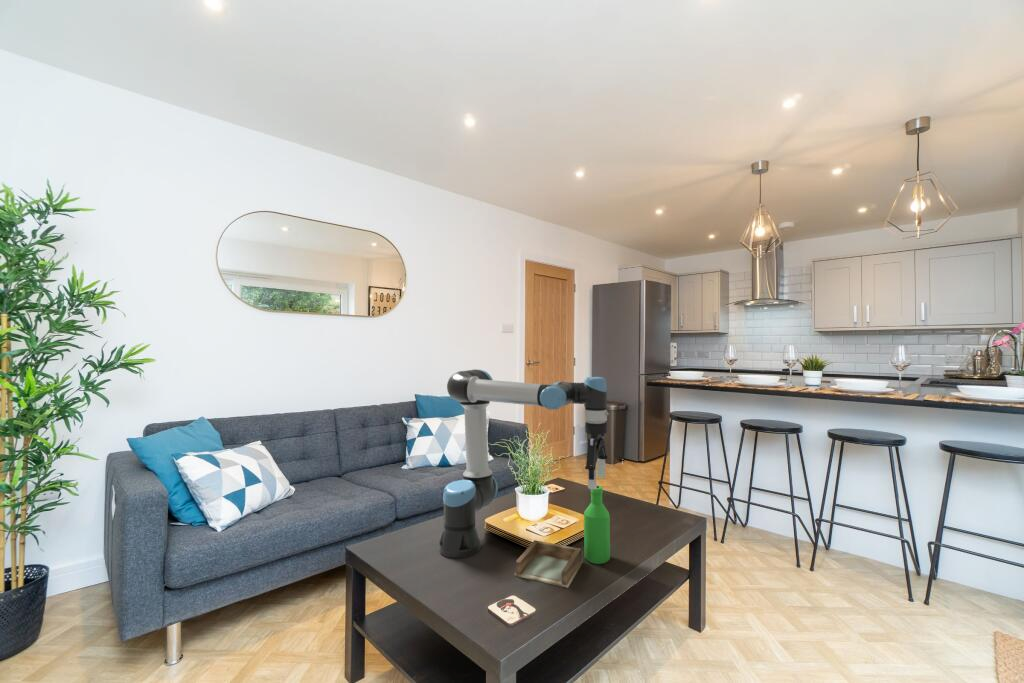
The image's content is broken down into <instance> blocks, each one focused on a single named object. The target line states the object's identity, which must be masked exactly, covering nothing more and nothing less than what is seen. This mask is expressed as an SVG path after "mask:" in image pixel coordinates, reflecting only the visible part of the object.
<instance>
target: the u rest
mask: <svg viewBox="0 0 1024 683" xmlns="http://www.w3.org/2000/svg"><path fill="white" fill-rule="evenodd" d="M583 562H584V561H583V560H582V549H581V548H578V547H573V546H567V545H562V544H557V543H552V542H546V541H541V540H536V539H534V540H533V541H532V542H531V544H529V546H528V547H527V548H526V549H525V550H524V551H523V553H522V554H520V556H519V557H518V558H517V559H516V561H515V573H514V574H513V576H515V577H519V578H523V579H528V580H532V581H537V582H540V583H545V584H550V585H554V586H558V587H562V588H567V589H568V588H569V587H570V585H571V584H572V582H573V580H574V578H575V576H576V575H577V573H578V571H579V570H580V568H581V566H582V564H583Z"/></svg>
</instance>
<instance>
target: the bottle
mask: <svg viewBox="0 0 1024 683" xmlns="http://www.w3.org/2000/svg"><path fill="white" fill-rule="evenodd" d="M589 491H590V503H589V505H588V506H587V507H586V509H585V510H584V512H583V529H584V530H583V531H584V532H583V536H584V537H583V539H584V540H583V541H584V542H583V543H584V547H583V551H584V559H586V561H588V562H589V563H592V564H596V565H602V564H606V563H607V562H608V561H610V559H611V535H610V534H611V530H610V528H611V526H610V525H611V524H610V522H611V520H610V518H611V517H610V512H609V511H608V509H607V508H606V506H605V505H604V503H603V493H604V491H603V487H602V486H600V485H597V489H596V490H595V489H589Z"/></svg>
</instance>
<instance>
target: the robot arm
mask: <svg viewBox="0 0 1024 683" xmlns="http://www.w3.org/2000/svg"><path fill="white" fill-rule="evenodd" d="M446 390H447V393H448V395H449V396H450V398H451V399H452V400H454V401H456V402H458V403H459V402H460V403H459V404H460V406H461V407H462V408H463V409H464V410H463V412H464V413H463V414H464V431H465V432H464V435H465V439H464V440H465V460H466V463H465V464H466V466H465V467H466V469H465V470H464V472H463V473H462V479H458V480H453V481H451V482H449V483H448V484H446V486H445V487H444V489H443V495H442V502H443V504H442V505H443V530H442V532H441V535H440V539H439V543H438V552H439V553H440V554H441V555H442V556H444V557H447V558H452V559H460V558H461V559H463V558H467V557H470V556H474V555H475V554H477V553H478V552H479V551H481V539H480V537H479V536H480V535H479V533H478V532H479V531H478V530H477V529H478V528H477V527H476V526H477V525H476V513H477V512H479V511H480V510H482V509H483V508H484V507H486V506H489V505H490V504H491V503H492V502H493V501H494V500H495V498H496V497H497V494H498V491H499V488H498V487H499V486H498V482H497V480H496V478H495V477H494V476H493V471H492V470H491V469H490V468H489V458H488V457H489V453H488V428H487V426H488V424H487V407H488V406H489V404H490V402H493V403H503V404H514V405H524V406H532V407H533V406H534V407H535V406H536V407H540V408H541V407H543V408H545V409H547V410H553V411H554V410H558V409H559V410H560V409H561V408H562V407H565V406H567V405H569V404H574V405H576V404H577V405H584V420H585V421H586V422H585V423H584V424H585V425H584V428H585V431H584V432H585V433H586V434H589V435H590V438H588V440H587V452H586V453H587V454H586V461H585V467H584V470H587V489H589V490H591V489H595V490H596V489H597V486H598V485H597V481H598V480H597V478H598V479H599V478H602V479H606V460H607V459H608V455H607V449H606V442H605V435H606V434H607V433H608V422H607V421H608V416H609V412H608V409H607V408H608V406H607V400H608V399H607V397H608V396H607V394H608V393H607V392H608V390H607V380H606V378H605V377H603V376H602V377H601V376H590V377H589V376H588V377H585V378H584V381H583V382H571V381H570V382H569V381H568V382H567V381H557V382H556V381H555V382H553V383H552V384H544V383H542V384H541V383H532V382H531V383H529V382H519V381H517V382H516V381H506V380H505V381H504V380H495V379H493V378H492V375H490V374H489V373H488V371H486V370H482V369H468V370H460V371H456V372H455V373H453V374H452V375H451V376H450V377H449V378H448V381H447V384H446ZM596 466H597V469H596Z"/></svg>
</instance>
